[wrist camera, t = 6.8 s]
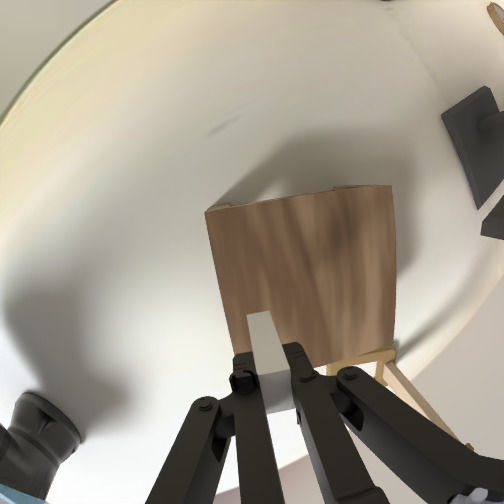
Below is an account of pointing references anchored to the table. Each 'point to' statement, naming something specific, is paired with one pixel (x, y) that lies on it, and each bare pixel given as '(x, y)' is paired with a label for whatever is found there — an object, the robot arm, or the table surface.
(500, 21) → the alarm clock
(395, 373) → the headphone stand
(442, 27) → the table surface
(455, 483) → the robot arm
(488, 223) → the computer monitor
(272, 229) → the stool
